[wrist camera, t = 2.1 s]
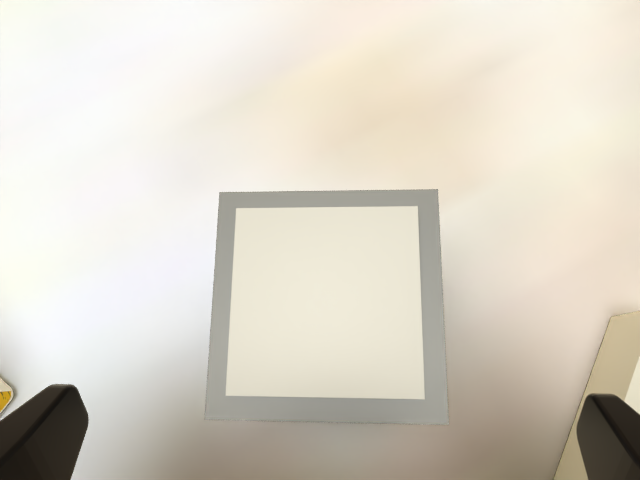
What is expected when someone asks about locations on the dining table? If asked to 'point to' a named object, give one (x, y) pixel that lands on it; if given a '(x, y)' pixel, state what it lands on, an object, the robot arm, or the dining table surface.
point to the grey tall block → (328, 308)
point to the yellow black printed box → (5, 394)
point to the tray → (608, 383)
